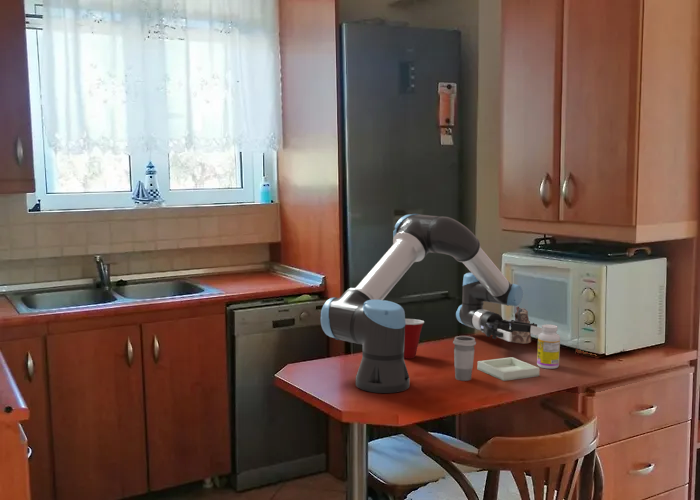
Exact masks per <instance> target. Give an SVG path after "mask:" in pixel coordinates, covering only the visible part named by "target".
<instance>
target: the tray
mask: <svg viewBox="0 0 700 500" xmlns="http://www.w3.org/2000/svg"><path fill="white" fill-rule="evenodd" d="M540 368H541V367H539V366H535V365H533V364H530V363H529V362H525V361H523V360H520V359H518V358H516V357H513V356H512V357H511V356H510V357H501V358H493V359H486V360H478V361H477V367H476V369H477V370H478V371H480V372H482V373H485V374H487V375H489V376H491V377H494V378H496V379H498V380H501V381H503V382H507V381H512V380H520V379H527V378H535V377H540Z"/></svg>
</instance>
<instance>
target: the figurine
mask: <svg viewBox="0 0 700 500" xmlns="http://www.w3.org/2000/svg"><path fill="white" fill-rule="evenodd" d="M515 307H516V308H515V309H516V312H515V313H514V320H515V321H519V322H525V323H531V321H530V319H529V313H528V312H529V311H528V310H527V309H526V307H520V306H515ZM510 333H512V337H511V341H510V342H511V343H516V344H529V343H531V342H532V334H530V332H521V331H513V332H510Z"/></svg>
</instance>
